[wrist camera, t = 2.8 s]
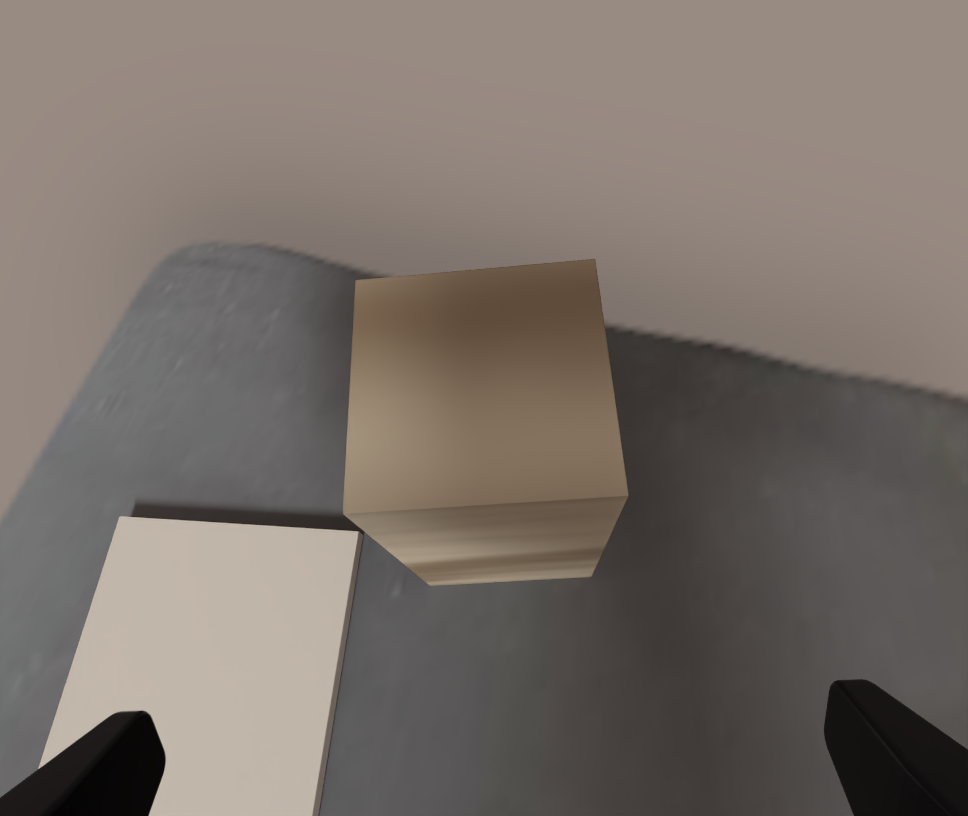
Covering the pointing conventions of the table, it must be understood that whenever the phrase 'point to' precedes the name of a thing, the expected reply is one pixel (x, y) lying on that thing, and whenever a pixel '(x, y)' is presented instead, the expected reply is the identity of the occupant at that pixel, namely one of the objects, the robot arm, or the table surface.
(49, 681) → the table surface
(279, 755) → the cream tile
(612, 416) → the brass block
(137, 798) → the robot arm
